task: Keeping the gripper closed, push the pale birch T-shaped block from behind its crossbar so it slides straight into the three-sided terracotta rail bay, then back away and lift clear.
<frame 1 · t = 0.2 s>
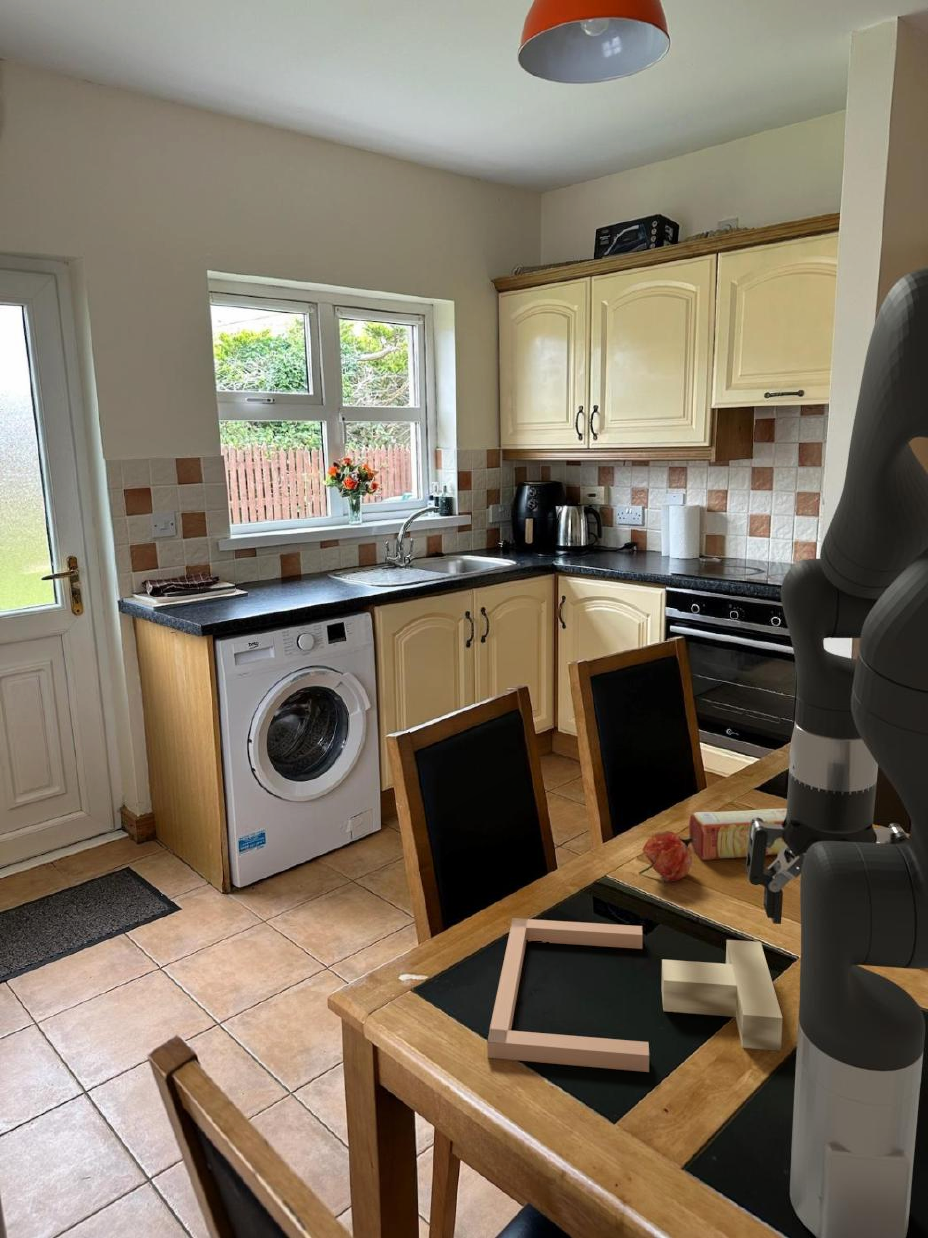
hand: (821, 922, 84), 18 cm above the table, tool pointing down, fingers open, 8 cm apart
T block: (715, 1004, 99), on the table
snack package: (759, 852, 135), on the table
rail bay: (580, 993, 102), on the table
pomegranate: (665, 878, 128), on the table
white cup: (844, 905, 119), on the table
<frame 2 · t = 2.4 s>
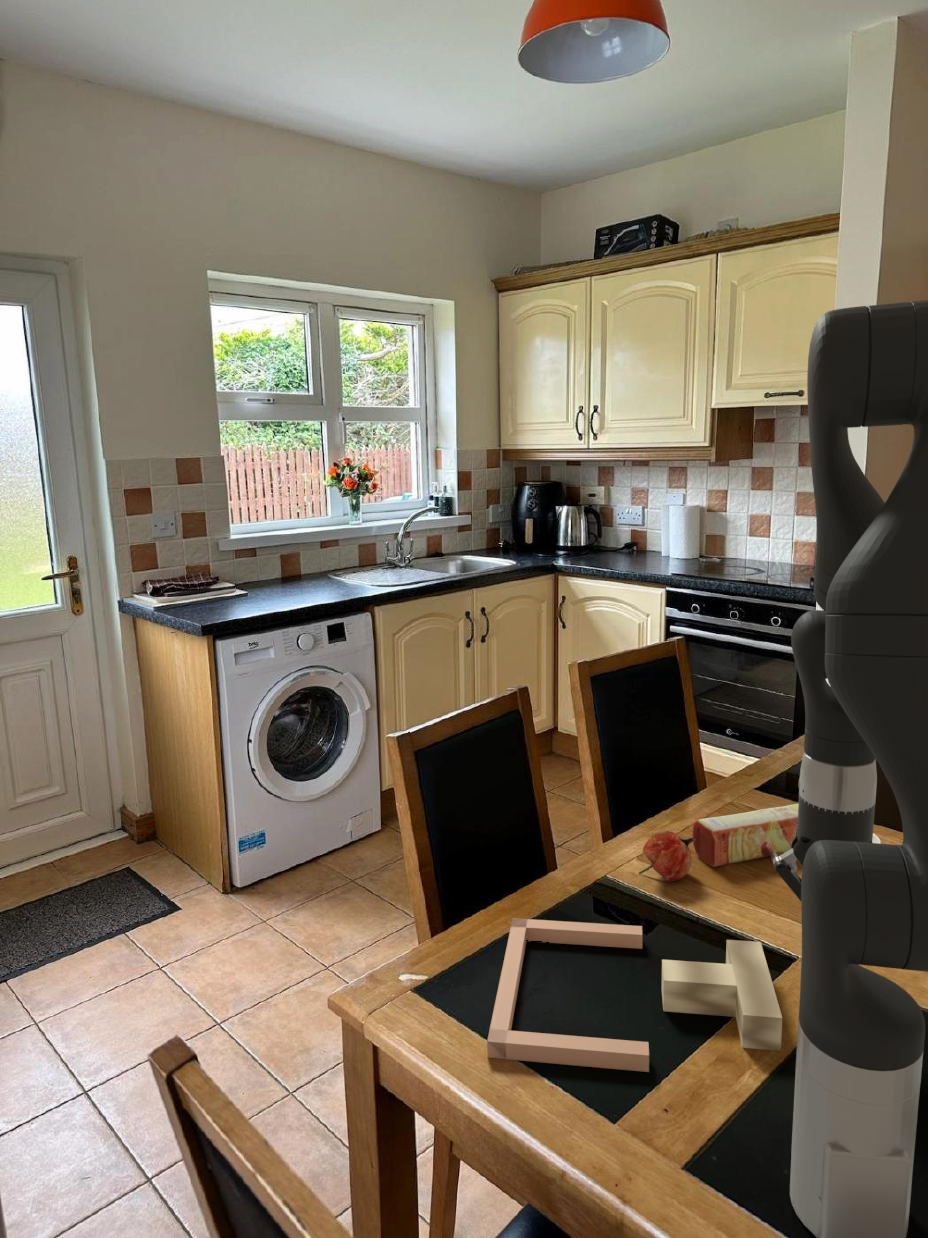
hand: (827, 936, 96), 9 cm above the table, tool pointing down, fingers closed
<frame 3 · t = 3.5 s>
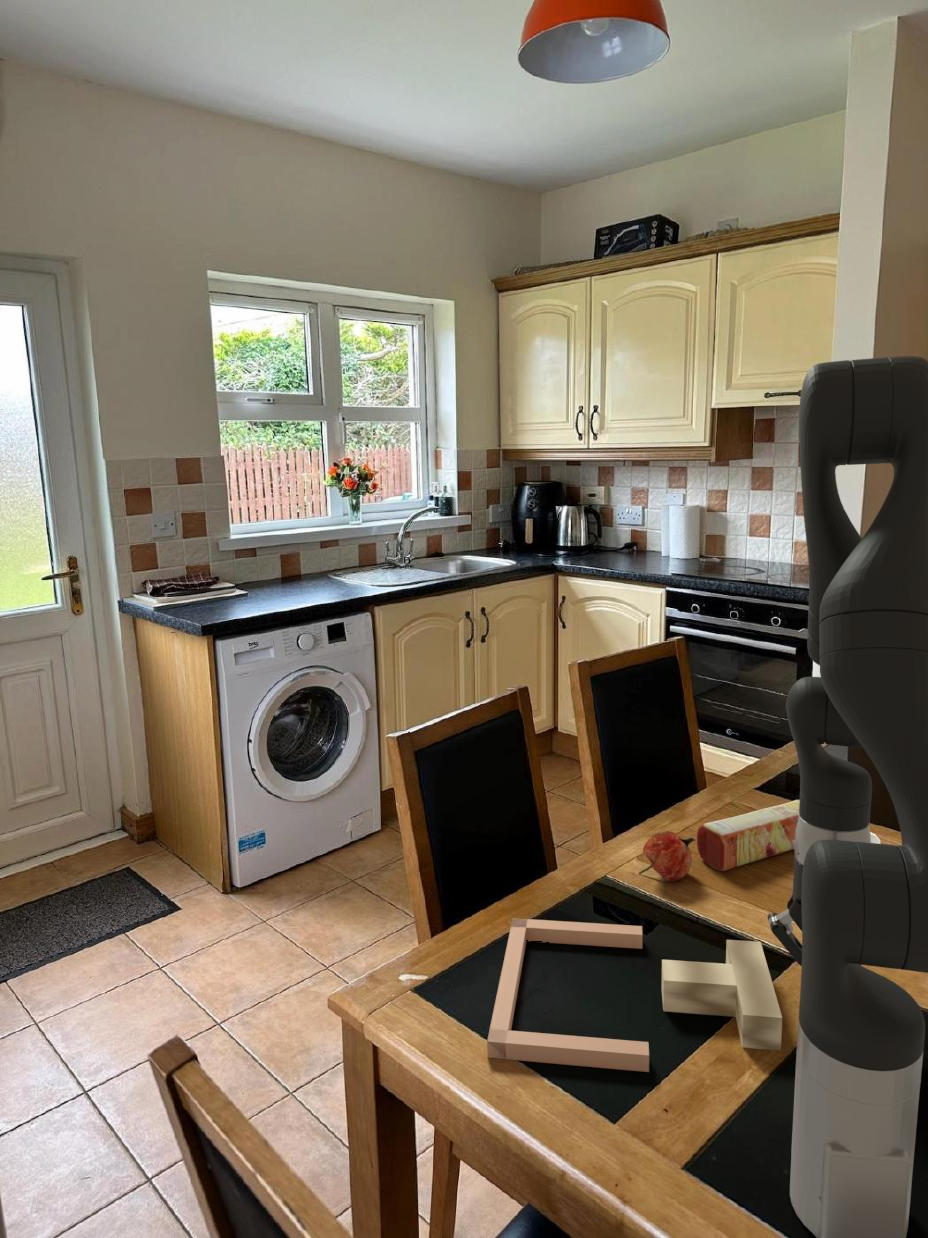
hand: (823, 996, 97), 2 cm above the table, tool pointing down, fingers closed
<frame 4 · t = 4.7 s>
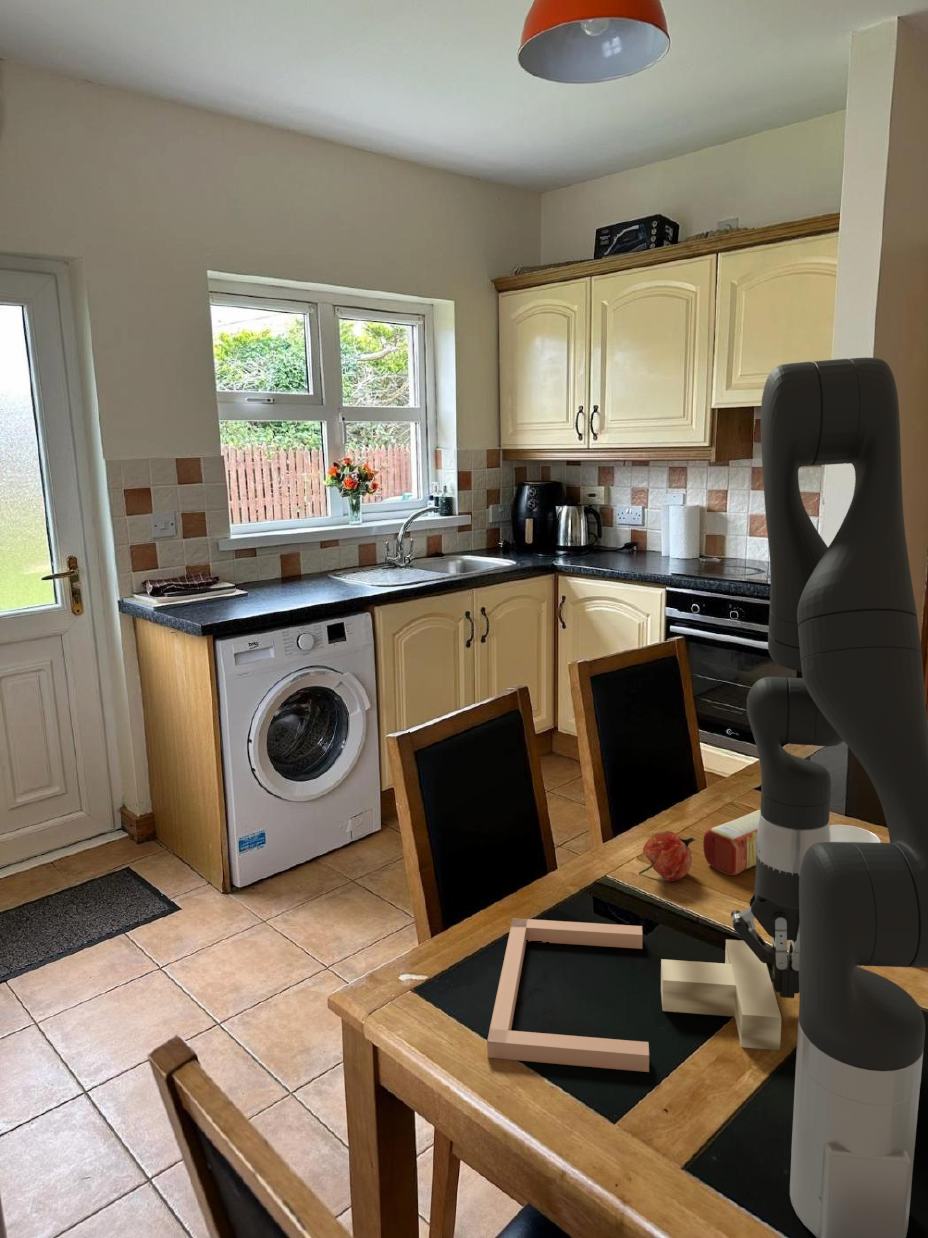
hand: (786, 993, 98), 2 cm above the table, tool pointing down, fingers closed
T block: (714, 1004, 99), on the table, touching gripper
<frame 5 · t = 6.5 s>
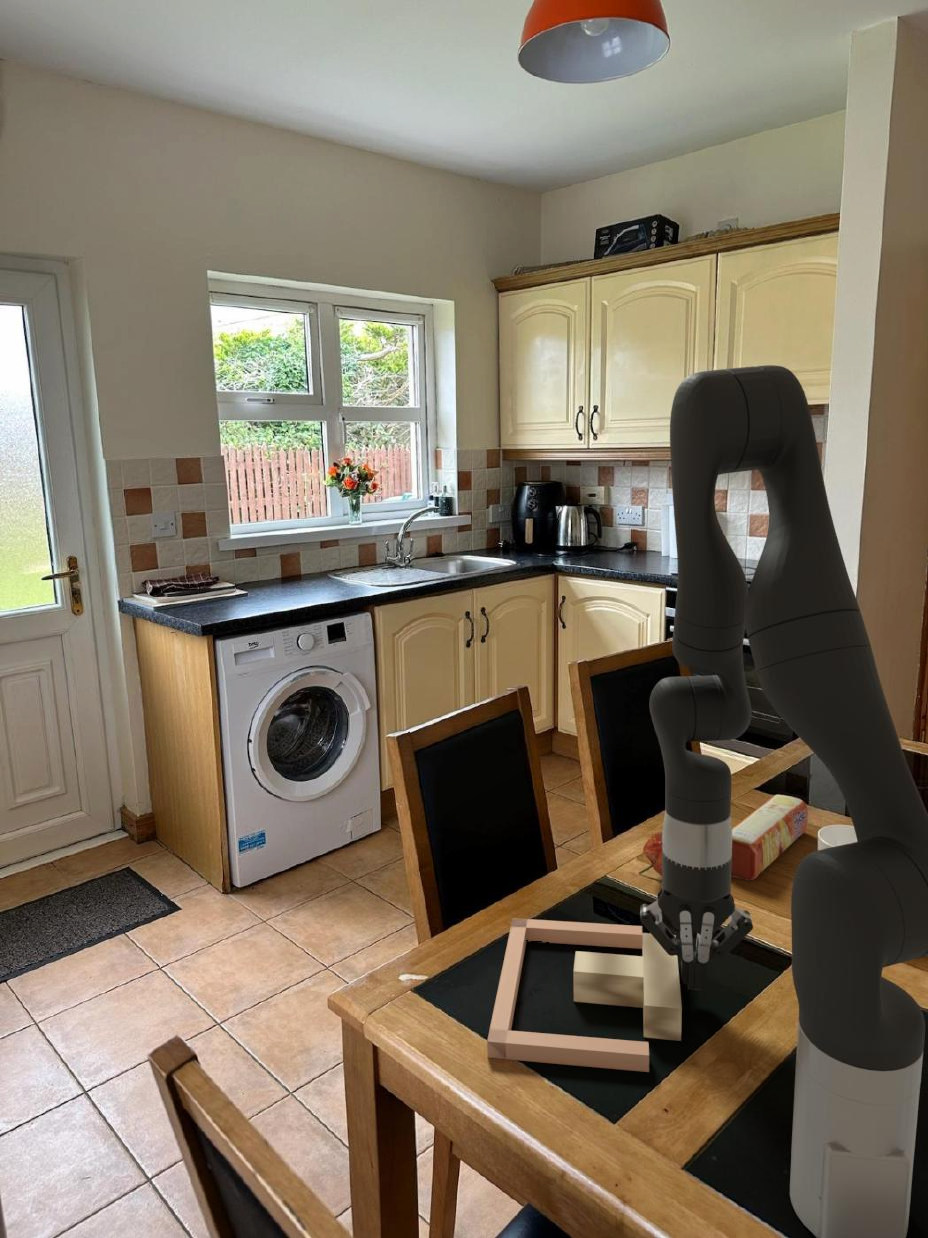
hand: (694, 985, 100), 2 cm above the table, tool pointing down, fingers closed
T block: (625, 995, 101), on the table, touching gripper
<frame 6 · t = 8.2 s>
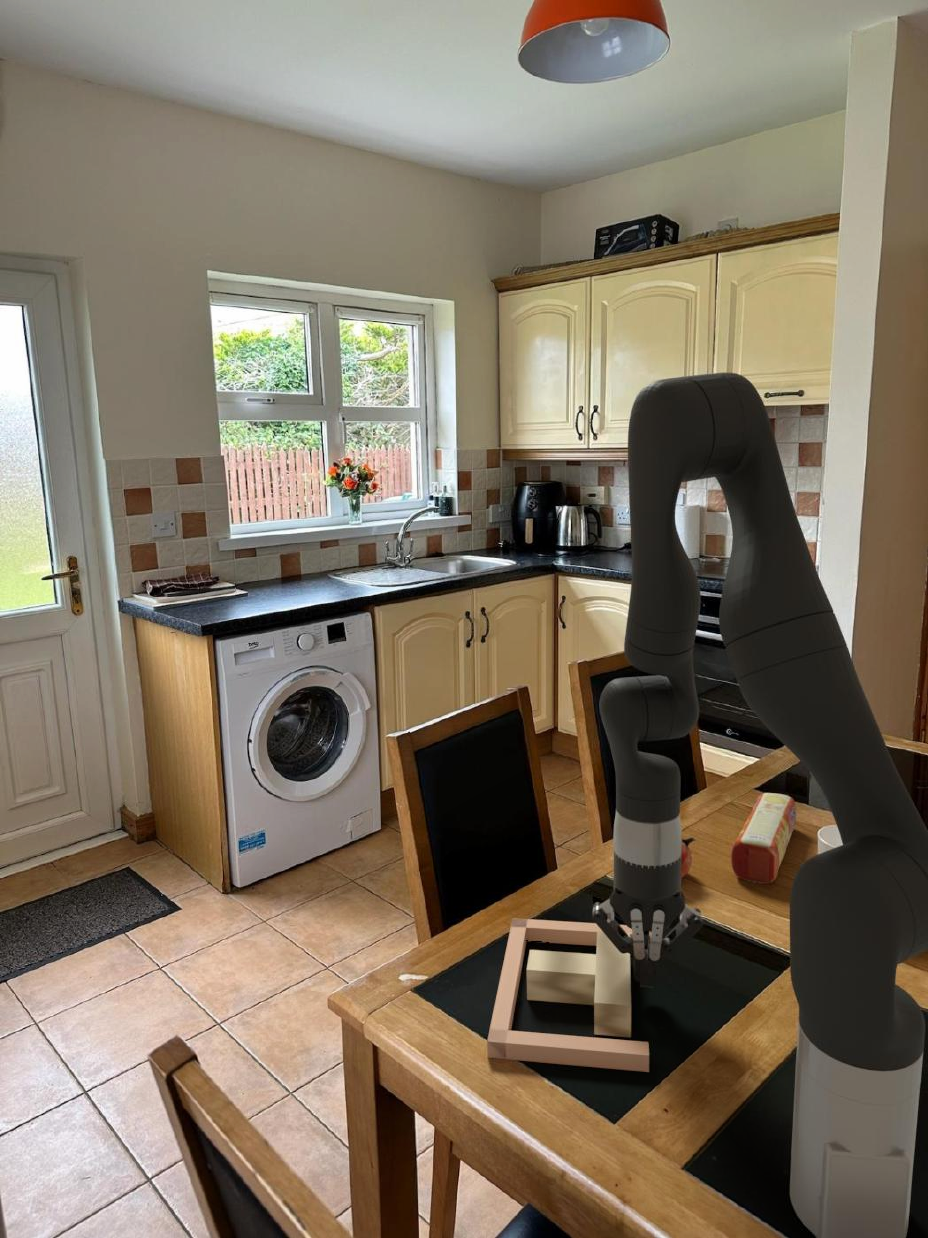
hand: (646, 983, 100), 2 cm above the table, tool pointing down, fingers closed
T block: (578, 993, 102), on the table, touching gripper
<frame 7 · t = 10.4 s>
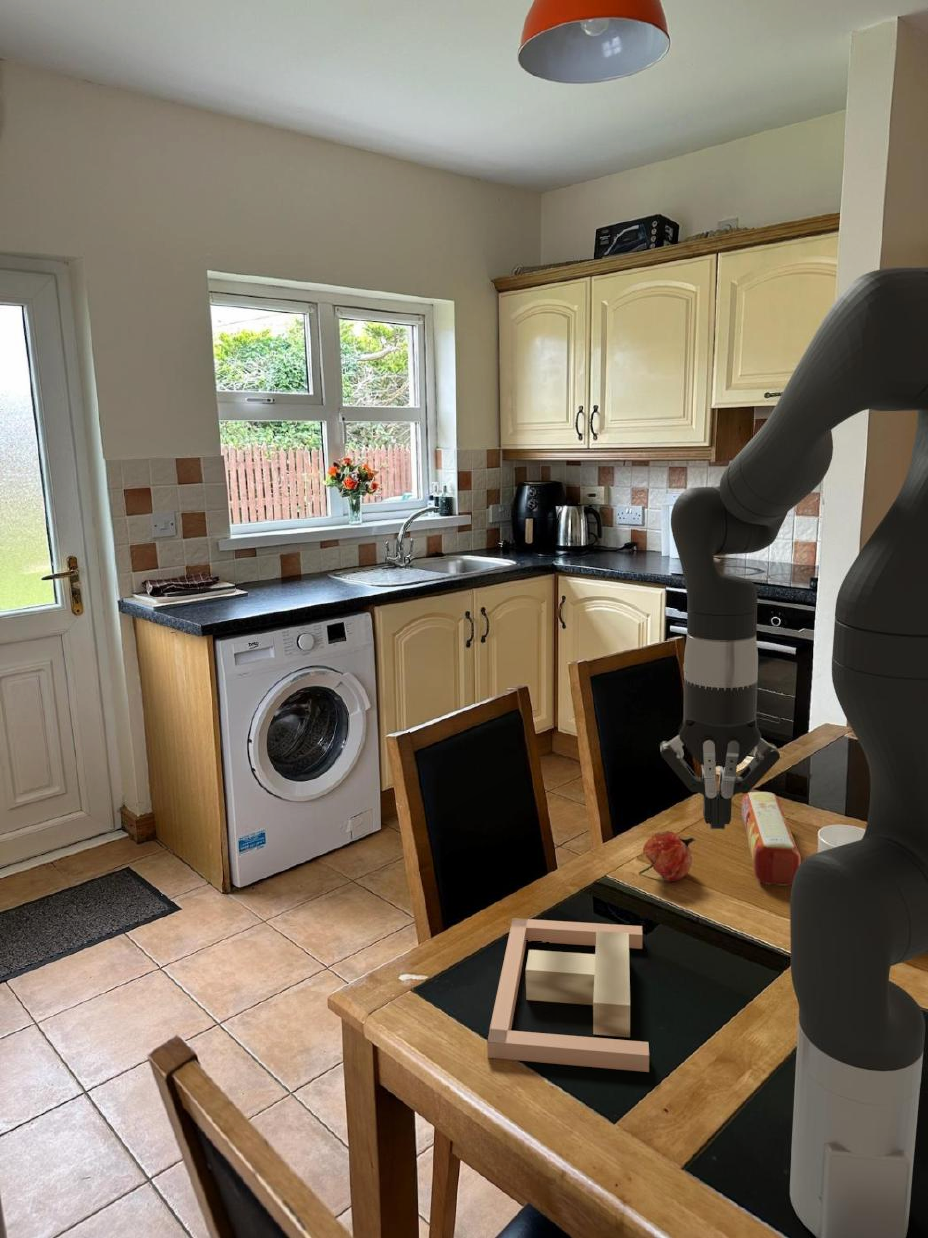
hand: (716, 826, 95), 22 cm above the table, tool pointing down, fingers closed
T block: (578, 993, 102), on the table
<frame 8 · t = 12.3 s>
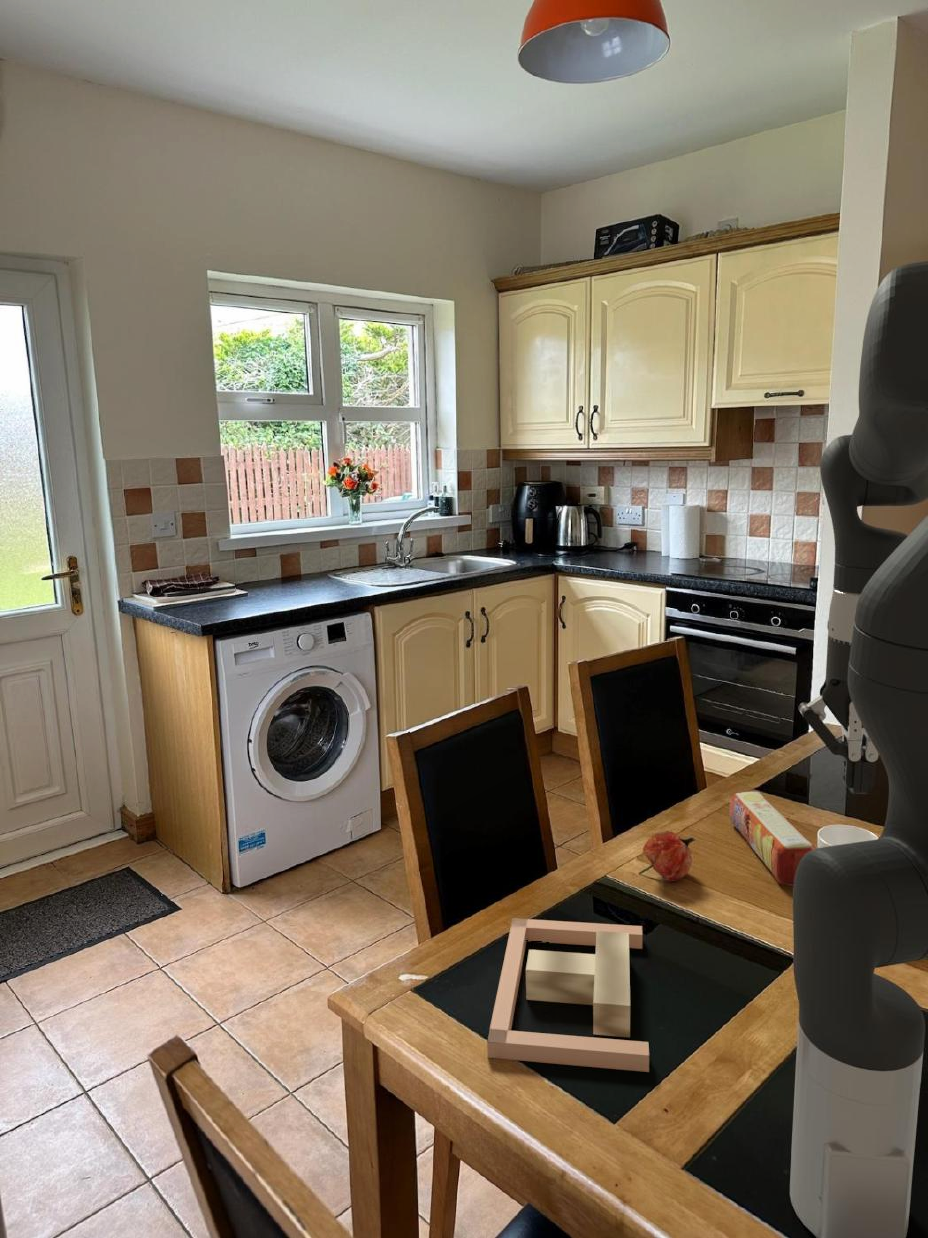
hand: (857, 790, 91), 27 cm above the table, tool pointing down, fingers closed
at the end: T block 0.3 cm off-centre on the rail bay, point 0.0 cm above the rail bay's base; T block tilted 0°; T block moved 15.8 cm from its start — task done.
